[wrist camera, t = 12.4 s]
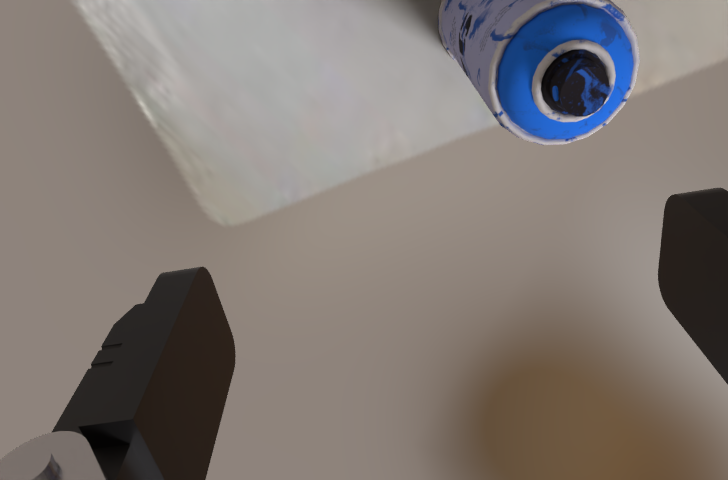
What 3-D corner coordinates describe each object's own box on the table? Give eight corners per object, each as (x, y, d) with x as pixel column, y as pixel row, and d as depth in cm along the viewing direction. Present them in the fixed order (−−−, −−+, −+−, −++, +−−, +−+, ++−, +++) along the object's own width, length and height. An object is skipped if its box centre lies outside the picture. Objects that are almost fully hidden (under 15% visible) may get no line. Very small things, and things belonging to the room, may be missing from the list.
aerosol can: (430, -29, 41) (487, 17, 23) (542, -54, 40) (686, -25, 23) (444, 80, 45) (502, 190, 27) (547, 60, 44) (673, 158, 27)
